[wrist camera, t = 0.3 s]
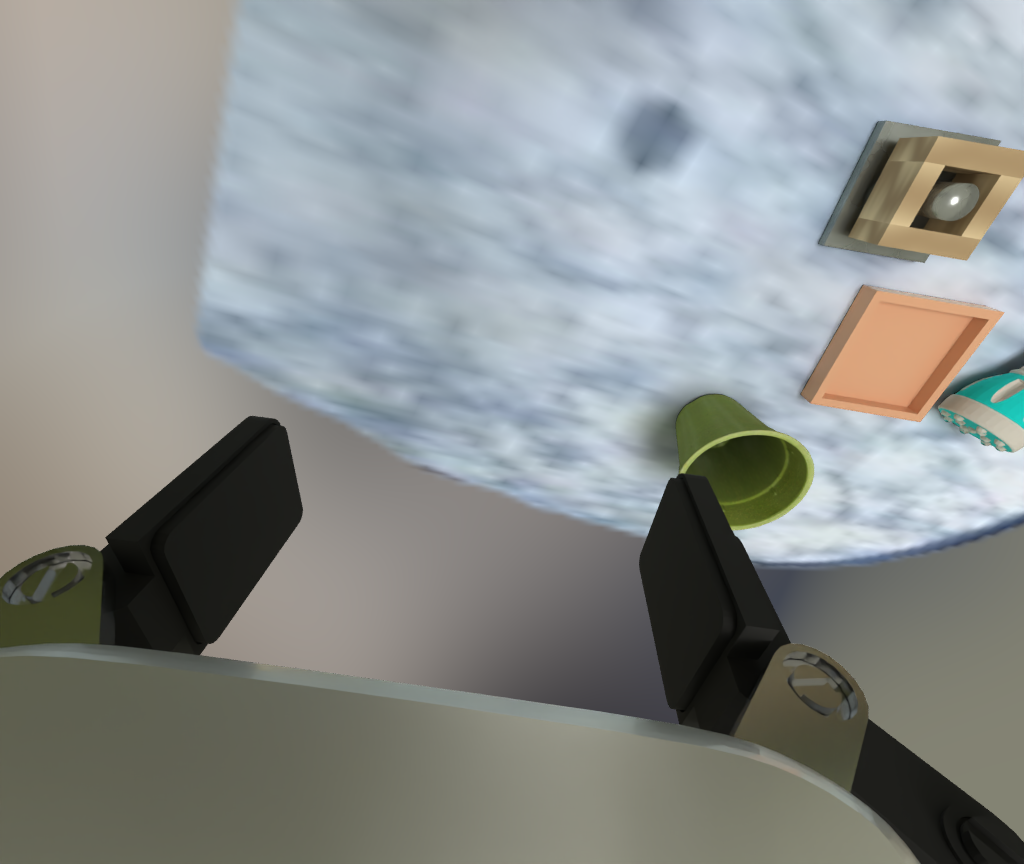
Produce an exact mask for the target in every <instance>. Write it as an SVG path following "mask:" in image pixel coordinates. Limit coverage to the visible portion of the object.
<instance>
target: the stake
mask: <svg viewBox="0 0 1024 864" xmlns="http://www.w3.org/2000/svg"><path fill="white" fill-rule="evenodd" d="M930 136H942V137H947V138H953V139H959V140H964V141H970V142H976V143H982V144H987V145H993V146H998V145H999V143H1000V142H1001V141H999V140H994V139H988V138H982V137H976V136H971V135H965V134H959V133H953V132H948V131H942V130H936V129H931V128H925V127H919V126H913V125H908V124H902V123H896V122H891V121H879V122H878V123H877V125H876V127H875V129H874V131H873V133H872V135H871V137H870V139H869V141H868V143H867V145H866V147H865V149H864V151H863V153H862V155H861V157H860V160H859V162H858V164H857V166H856V168H855V170H854V172H853V174H852V176H851V178H850V180H849V182H848V184H847V186H846V188H845V190H844V192H843V194H842V196H841V198H840V200H839V202H838V204H837V206H836V208H835V210H834V212H833V214H832V217H831V219H830V221H829V223H828V225H827V227H826V229H825V231H824V233H823V235H822V237H821V239H820V241H819V243H818V244H821V245H824V246H830V247H836V248H841V249H847V250H853V251H859V252H865V253H871V254H876V255H882V256H888V257H894V258H900V259H905V260H911V261H917V262H923V263H925V261H926V260H927V258H928V256H929V255H930V254H926V253H921V252H915V251H909V250H903V249H897V248H892V247H886V246H880V245H876V244H872V243H868V242H865V241H861V240H857V239H854V238H850V237H848V236H849V234H850V232H851V230H852V228H853V227H854V225H855V223H856V221H857V219H858V217H859V215H860V213H861V211H862V209H863V207H864V205H865V204H866V202H867V200H868V198H869V196H870V194H871V192H872V190H873V188H874V186H875V184H876V182H877V181H878V179H879V177H880V175H881V173H882V171H883V169H884V167H885V165H886V163H887V161H888V159H889V158H890V156H891V154H892V152H893V150H894V148H895V146H896V144H897V142H898V140H899V138H911V137H930ZM956 174H957V173H953V172H947V171H942V172H941V174H940V175H939V177H938V179H937V181H936V182H935V184H934V186H933V187H932V189H931V191H930V192H929V194H928V196H927V198H926V199H925V201H924V203H923V204H922V206H921V208H920V210H919V211H918V213H917V215H916V216H915V218H914V220H913V221H912V223H911V225H910V227H916V228H922V229H923V228H924V227H925V225H926V224H927V222H928V220H929V219H930V218H933V219H939V220H945V221H955V220H958V219H961V218H963V217H964V216H966V215H967V214H968V213H969V212H970V211H971V210H972V209H973V208H974V207H975V205H976V204H977V202H978V199H979V189H978V187H977V186H976V185H974V184H970V183H956V182H952V180H953V179H954V177H955V175H956Z"/></svg>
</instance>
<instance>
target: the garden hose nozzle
mask: <svg viewBox="0 0 1024 864" xmlns="http://www.w3.org/2000/svg"><path fill="white" fill-rule="evenodd" d="M938 410H939V411H940V412H941V415H943V416H944V420H945V421H947V422H953V423H954V424H955V425H957V426H959V427H960V432H961V433H963V434H967V433H970V434H971V435H973V436H975V437H976V438H978V439H980V440H981V444H983V445H985V446H989V445H992V446H994V447H995V448H996V449H997V450H998V451H1007V452H1016V451H1018V450H1020V449H1021V448H1023V447H1024V366H1023V367H1021V368H1020V369H1015V370H1011V371H1010V372H1009V373H1007V374H1000V375H995V376H991V377H987V378H983V379H980V380H978V381H975V382H973V383H971V384H969V385H968V386H966V387H964V388H963V389H961V390H960V391H959V392H957V393H956V394H952V395H950V396H949V397H947V398H946V399H945V400H944V401H943V402H942V403H941V404H940V405H939V406H938Z"/></svg>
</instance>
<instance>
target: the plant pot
mask: <svg viewBox="0 0 1024 864" xmlns="http://www.w3.org/2000/svg"><path fill="white" fill-rule="evenodd" d="M676 436H677V445H678V454H679V463H680V466H679V474H680V473H685V474H693V475H700V476H705V477H706V478H707V479H708V481H709V483H710V485H711V487H712V489H713V491H714V493H715V495H716V497H717V500H718V502H719V504H720V506H721V508H722V510H723V512H724V514H725V516H726V518H727V521H728V523H729V525H730V527H731V529H732V530H742V529H748V528H754V527H758V526H761V525H764V524H767V523H769V522H772V521H774V520H776V519H778V518H780V517H782V516H783V515H785V514H786V513H788V512H789V511H790V510H791V509H793V508H794V507H795V506H796V505H797V504H798V503H799V502H800V501H801V500H802V499H803V497H804V496H805V495H806V493H807V492H808V490H809V488H810V486H811V484H812V481H813V477H814V464H813V460H812V458H811V455H810V454H809V452H808V450H807V449H806V448H805V447H804V446H803V445H802V444H801V443H800V442H799V441H797V440H796V439H794V438H792V437H791V436H789V435H786V434H783V433H780V432H777V431H775V430H773V429H771V428H769V427H767V426H766V425H765V424H764V423H762V422H761V421H760V420H759V419H757V418H756V417H755V416H754V415H752V414H751V413H750V412H749V411H747V410H746V409H745V408H744V407H743V406H741V405H740V404H739V403H738V402H736V401H735V400H734V399H732V398H730V397H727V396H725V395H719V394H712V395H705V396H702V397H699V398H698V399H696V400H695V401H693V402H691V403H690V404H688V405H686V406H685V407H684V408H683V409H682V410H681V412H680V413H679V415H678V417H677V420H676ZM679 474H678V475H679Z"/></svg>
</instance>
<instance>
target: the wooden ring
mask: <svg viewBox="0 0 1024 864" xmlns="http://www.w3.org/2000/svg"><path fill="white" fill-rule="evenodd" d="M942 171H947V172H953V173H957V174H956V175H955V177H954V179H953V180H952V182H956V183H970V184H974V185H976V186H977V187H978V189H979V199H978V202H977V204H976V205H975V207H974V208H973V209H972V210H971V211H970V212H969V213H968V214H967V215H966V216H964V217H963V218H961V219H958V220H955V221H945V220H939V219H933V218H930V219H929V220H928V222H927V224H926V225H925V227H924V228H923V229H922V228H916V227H910V225H911V223H912V221H913V220H914V218H915V216H916V215H917V213H918V211H919V210H920V208H921V206H922V204H923V203H924V201H925V199H926V198H927V196H928V194H929V192H930V191H931V189H932V187H933V186H934V184H935V182H936V181H937V179H938V177H939V175H940V174H941V172H942ZM1023 177H1024V151H1022V150H1016V149H1010V148H1005V147H999V146H993V145H987V144H982V143H976V142H970V141H964V140H959V139H953V138H947V137H942V136H930V137H911V138H899V140H898V142H897V144H896V146H895V148H894V150H893V152H892V154H891V156H890V158H889V159H888V161H887V163H886V165H885V167H884V169H883V171H882V173H881V175H880V177H879V179H878V181H877V182H876V184H875V186H874V188H873V190H872V192H871V194H870V196H869V198H868V200H867V202H866V204H865V205H864V207H863V209H862V211H861V213H860V215H859V217H858V219H857V221H856V223H855V225H854V227H853V228H852V230H851V232H850V234H849V236H848V237H850V238H854V239H857V240H861V241H865V242H868V243H872V244H876V245H880V246H886V247H892V248H897V249H903V250H909V251H915V252H921V253H926V254H932V255H938V256H944V257H950V258H955V259H961V260H967V259H968V258H969V256H970V255H971V253H972V252H973V250H974V249H975V248H976V246H977V245H978V243H979V242H980V240H981V239H982V237H983V236H984V234H985V233H986V231H987V230H988V228H989V227H990V225H991V224H992V222H993V221H994V219H995V218H996V217H997V215H998V214H999V212H1000V211H1001V209H1002V208H1003V206H1004V205H1005V203H1006V202H1007V200H1008V199H1009V197H1010V196H1011V194H1012V193H1013V191H1014V190H1015V188H1016V187H1017V186H1018V184H1019V183H1020V181H1021V180H1022V178H1023Z"/></svg>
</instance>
